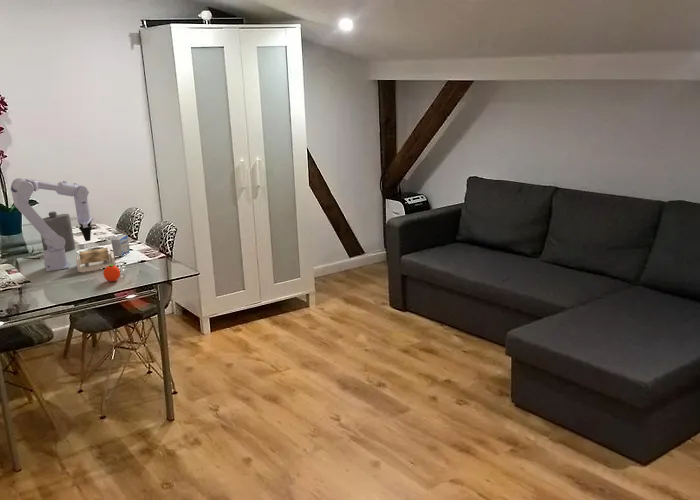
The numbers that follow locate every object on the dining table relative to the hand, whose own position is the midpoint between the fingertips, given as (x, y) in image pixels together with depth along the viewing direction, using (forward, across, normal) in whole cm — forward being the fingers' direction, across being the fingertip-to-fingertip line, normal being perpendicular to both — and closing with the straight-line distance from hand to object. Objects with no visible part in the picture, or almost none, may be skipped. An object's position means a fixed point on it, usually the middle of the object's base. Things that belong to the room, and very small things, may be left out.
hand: (87, 238), depth 326 cm
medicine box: (+10, -1, -14) cm, 17 cm away
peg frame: (+10, -13, -2) cm, 16 cm away
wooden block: (+7, -14, -2) cm, 15 cm away
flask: (+10, +19, +14) cm, 26 cm away
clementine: (+10, -36, -8) cm, 38 cm away
